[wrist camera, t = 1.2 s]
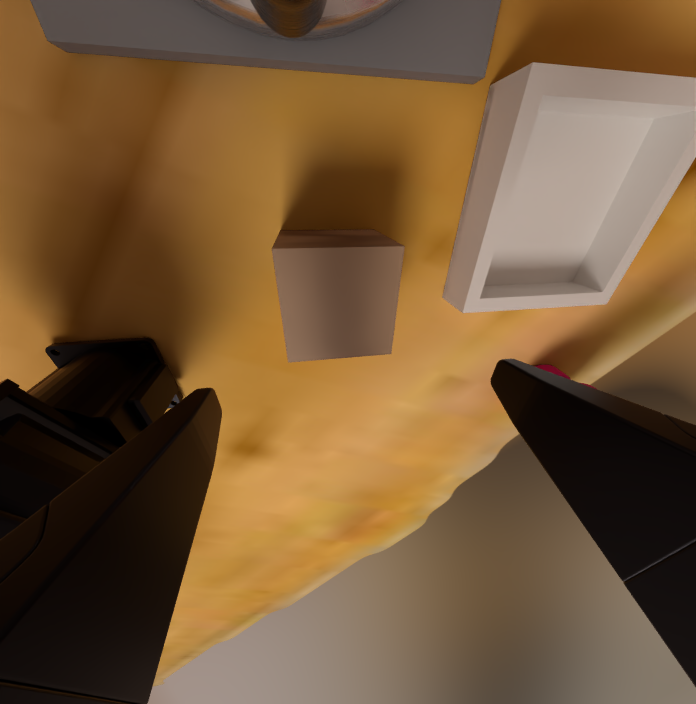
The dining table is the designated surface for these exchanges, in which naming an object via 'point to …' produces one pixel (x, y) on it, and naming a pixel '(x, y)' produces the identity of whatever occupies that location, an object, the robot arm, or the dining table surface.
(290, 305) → the block
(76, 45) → the crank board
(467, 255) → the tray
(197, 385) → the dining table surface
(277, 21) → the crank
